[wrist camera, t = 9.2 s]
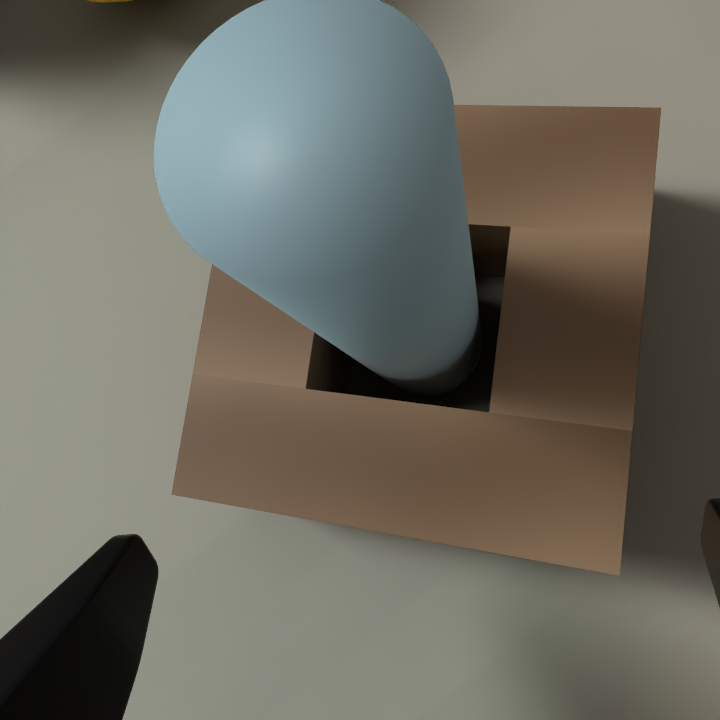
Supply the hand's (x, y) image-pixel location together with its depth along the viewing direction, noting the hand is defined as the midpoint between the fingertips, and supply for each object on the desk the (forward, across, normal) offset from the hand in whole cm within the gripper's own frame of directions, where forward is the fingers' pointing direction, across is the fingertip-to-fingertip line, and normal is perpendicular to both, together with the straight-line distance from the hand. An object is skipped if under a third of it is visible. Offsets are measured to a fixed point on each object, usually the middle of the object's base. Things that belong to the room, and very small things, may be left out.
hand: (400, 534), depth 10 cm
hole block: (+9, 0, +2) cm, 9 cm away
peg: (+9, 0, +2) cm, 9 cm away
